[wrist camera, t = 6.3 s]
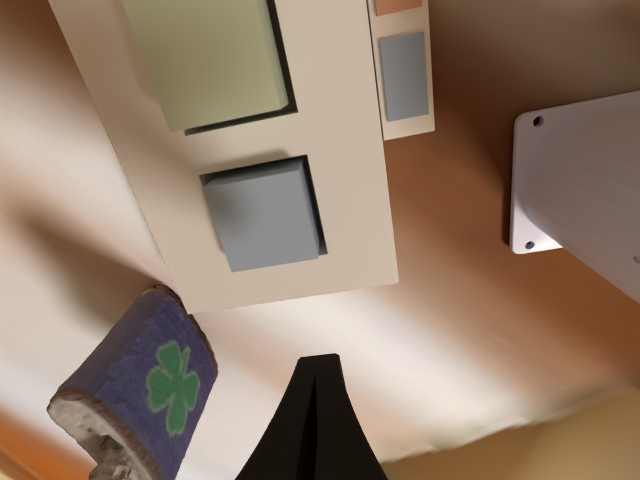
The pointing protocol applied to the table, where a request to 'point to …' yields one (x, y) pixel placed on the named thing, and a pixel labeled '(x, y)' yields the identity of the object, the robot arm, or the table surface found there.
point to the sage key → (208, 58)
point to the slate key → (264, 214)
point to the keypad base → (252, 151)
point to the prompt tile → (402, 66)
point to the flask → (140, 391)
